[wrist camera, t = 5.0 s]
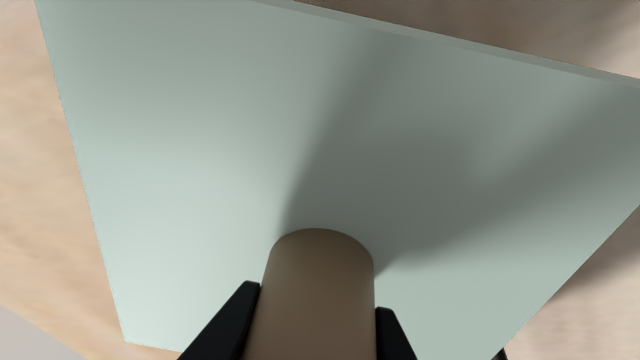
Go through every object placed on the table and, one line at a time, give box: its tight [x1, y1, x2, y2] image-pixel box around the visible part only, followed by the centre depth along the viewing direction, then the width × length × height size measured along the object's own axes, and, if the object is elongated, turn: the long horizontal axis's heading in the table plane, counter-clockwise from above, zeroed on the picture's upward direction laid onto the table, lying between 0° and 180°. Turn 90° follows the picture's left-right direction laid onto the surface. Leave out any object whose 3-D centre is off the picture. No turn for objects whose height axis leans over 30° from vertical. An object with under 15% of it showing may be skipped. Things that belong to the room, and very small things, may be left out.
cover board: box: [34, 0, 640, 360], centre depth 9 cm, size 13×13×5 cm
